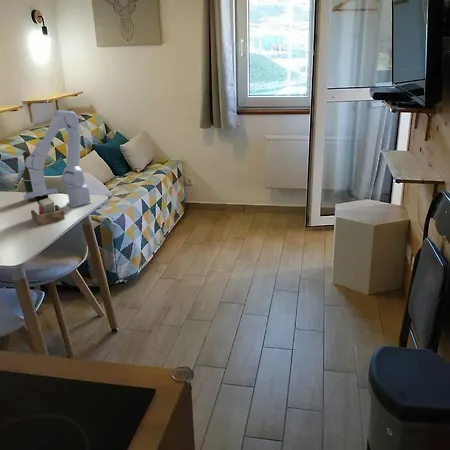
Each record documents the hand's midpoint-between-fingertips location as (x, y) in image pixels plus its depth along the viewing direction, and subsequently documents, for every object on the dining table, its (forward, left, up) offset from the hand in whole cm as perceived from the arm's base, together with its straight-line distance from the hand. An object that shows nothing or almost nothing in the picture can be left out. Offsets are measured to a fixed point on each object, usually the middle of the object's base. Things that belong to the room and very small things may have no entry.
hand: (44, 211), depth 217 cm
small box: (0, +3, -2) cm, 3 cm away
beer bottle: (-3, -28, -2) cm, 28 cm away
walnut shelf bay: (0, +5, -2) cm, 6 cm away
